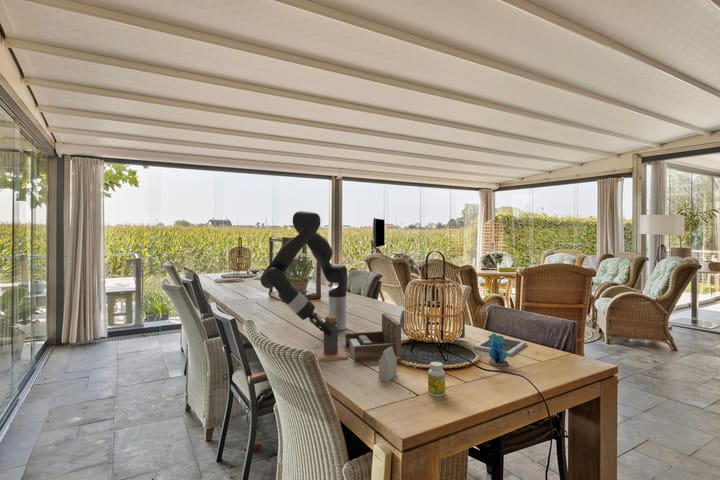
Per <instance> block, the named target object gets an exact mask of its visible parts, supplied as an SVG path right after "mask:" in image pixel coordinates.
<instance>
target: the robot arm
mask: <svg viewBox="0 0 720 480" xmlns="http://www.w3.org/2000/svg"><path fill="white" fill-rule="evenodd" d="M292 225H293V228H294V229H295V231H296V232H297V233H298V234H297V235H296V236H294V237H293V238H291V239H290V240H288V241H287V242H286V243H284V244H283V245H282V246H281V247H280V248H279V250H278V252H277V253H276V254H275V256H274V258H273V259H272V261H271V262H270V264H269V265H268V266H267V267H266V268H265V269H264V271H263V272H262V274H261V277H260V284H261V286H262V287H263V288H265V289H273V288H274V289H275V290H276V291H277V292H278V293H277V296H278V298H279V299H280V300H281V301H282V302H283V303H284V304H286V305H287V307H288V308H289V309H290V310H291V311H292V312H293V313H295V315H296V316H297V317H298V318H299V319H301V320H302V321H304V320H307V318H308V320H309V322H310V323H311V324H312V325H314V327H316V328H317V329H319V331H320V332H323V334H324V333H325V334H326V335H327V336H330V335H331V334H332V332H331V331H330V330H329V329H328V328H327V327H326V324H325V321H324V320H323V319H322V317H321V316H320V315H319V314H318V313H317V312H315V309H316V305H315V304H314V303H312V302H311V301H310V300H309V298H307V297H306V295H304V294H303V293H301V291H299V290H298V289H297V288H296V287H295V286H294V285H292V283H291V282H290V280H289V278H288V277H287V276H286V274H285V273H284V272H285V271H287V269H289V267H290V266H291V264H292V263H293V261H294V259H295V258H296V257H297V255H298V253H300V251H301V250H302V248H303V247H304V246H305V245H307V247H308V248H309V250H310V252H311V254H312V255H313V257H314V259H315V260H316V261H317V264H318V265H319V266H320V269H321V270H322V273H323V275H324V278H325V280H326V281H327V282H328V283H332V284H333V283H334V284H337V287H335V288H332V289H329V290H328V316H336V321H337V324H335V326H337V327H338V331H344V330H347V290H348V287H347V286H348V268H347V267H346V266H345V265H341V264H340V265H337V264H331V260H332V257H333V249H332V246H331V244H330V243H329V241H328V240H327V239H326V238H325V237H323V236H322V235H321V234H319V233H318V230H319V228H320V226H321V217H320V215H319V213H317V212H313V211H304V210H299V211H296V212H295V213H294V214H293V215H292Z"/></svg>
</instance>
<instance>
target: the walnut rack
mask: <svg viewBox="0 0 720 480" xmlns="http://www.w3.org/2000/svg"><path fill="white" fill-rule="evenodd" d="M359 335H365V336H366V337H367V338H368V339H369V340H370V341H371V342H372V345H360V346H354V356H353V358H354V362H355V363H356V362H369V361H370V362H371V361H380V359H381V357H382V354H383V351H385V350H386V349H388V348H390V347H393V351H394V353H395V356H396V357H401V358H402V327H401V324H400V321H398V320H396V319H395V318H393V316H391V315H389V314H388V313H387V312H384V313H381V330H378V331H377V330H376V331H363V332H362V331H361V332H345V335H344V336H345V341H344V343H345V344H344V346H345V348H350V339H357V340H358V336H359Z"/></svg>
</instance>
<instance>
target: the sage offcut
mask: <svg viewBox="0 0 720 480" xmlns="http://www.w3.org/2000/svg"><path fill="white" fill-rule="evenodd" d="M354 346H360V344H359V342H358V340H357V339H350V347H349V350H350V352H351V353H352V356H353V357H354Z"/></svg>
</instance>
